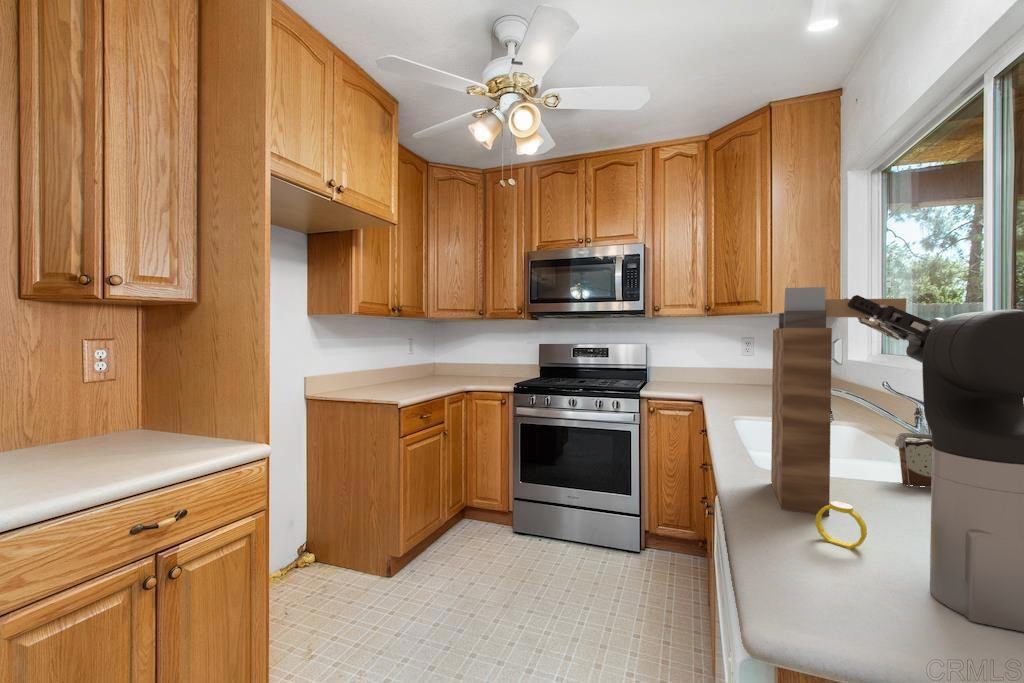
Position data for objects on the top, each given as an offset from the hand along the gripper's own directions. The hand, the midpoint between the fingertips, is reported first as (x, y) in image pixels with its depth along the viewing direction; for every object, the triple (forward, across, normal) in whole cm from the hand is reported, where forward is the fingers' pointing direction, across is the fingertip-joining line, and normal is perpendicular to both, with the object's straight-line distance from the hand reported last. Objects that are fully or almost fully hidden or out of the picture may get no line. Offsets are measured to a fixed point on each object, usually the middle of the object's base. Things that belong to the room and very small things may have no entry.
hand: (845, 301), depth 79 cm
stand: (-13, +4, -35) cm, 37 cm away
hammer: (-2, -1, -5) cm, 5 cm away
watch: (-15, -16, -34) cm, 41 cm away
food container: (-35, +26, -22) cm, 49 cm away
